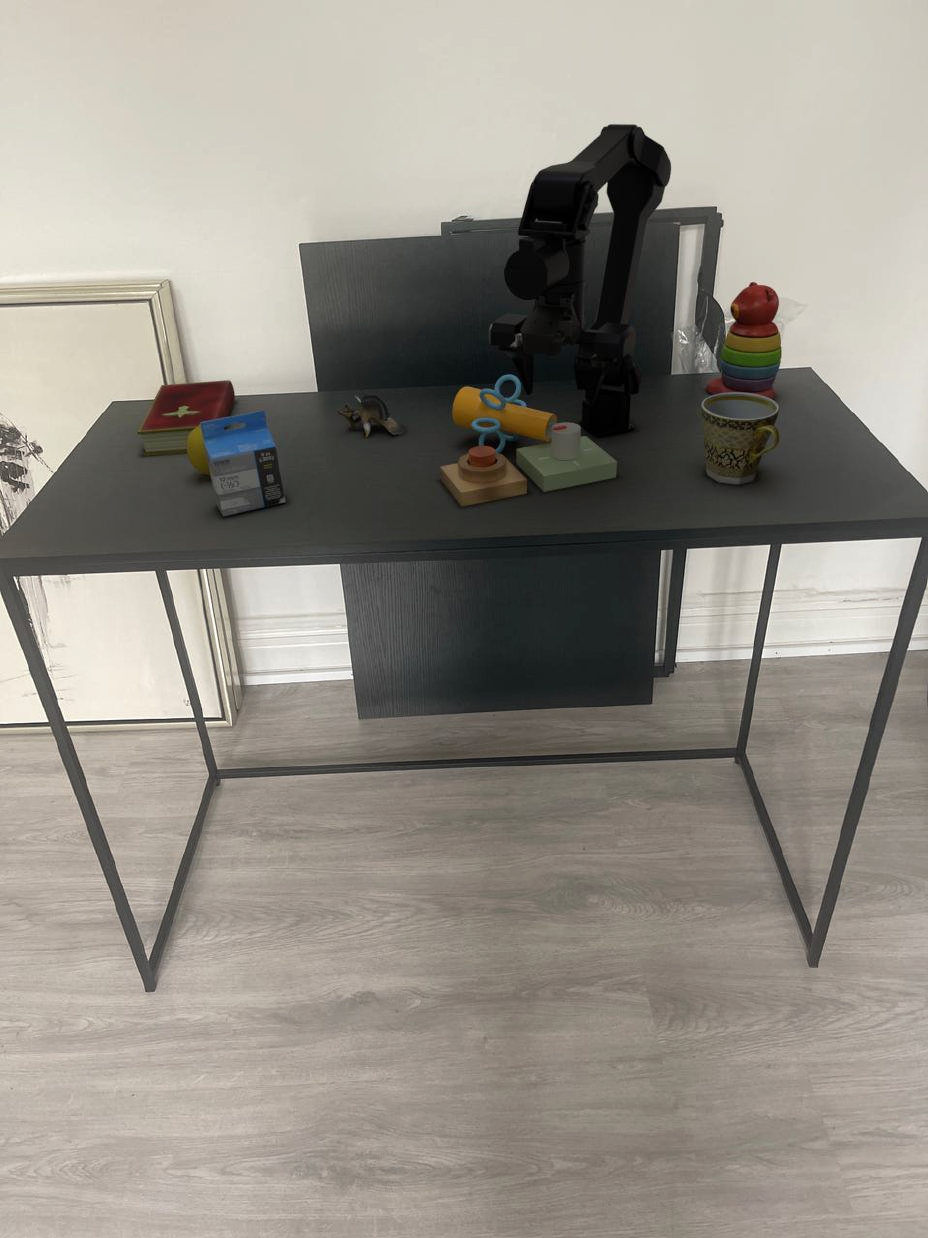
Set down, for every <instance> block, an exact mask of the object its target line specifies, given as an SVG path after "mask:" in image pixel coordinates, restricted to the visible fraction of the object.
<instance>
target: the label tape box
mask: <svg viewBox="0 0 928 1238" xmlns="http://www.w3.org/2000/svg"><path fill="white" fill-rule="evenodd" d="M233 423H236V424H237V425H238V424H244V426H240V427H236V428H235V427H234V428H230V429H225V430H224V427H225V426H226V427H228V426H231V425H232V424H233ZM200 426H201V431H202V435H203V444H204V449H205V453H206V457H207V461H208V465H209V470H210V474H211V476H210V478H211V483H212V488H213V492H214V497H215V501H216V504H217V508H218V510H219V511H220V513H221V515H222V517H228V516H232V515H237V514H240V513H245V512H250V511H253V510H258V509H262V508H268V507H271V506H276V505H279V504H284V503H286V502H287V501H286V495H285V489H284V483H283V479H282V473H281V467H280V461H279V455H278V449H277V446H276V444H275V441H274V439H273V436H272V434H271V432H270V428H269V427H268V424H267V417H266V411H265V410H258V411H253V412H247V413H242V414H237V415H232V416H231V415H230V417H225V418H220V419H215V420H210V421H205V422H200Z"/></svg>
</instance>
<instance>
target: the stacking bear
mask: <svg viewBox="0 0 928 1238" xmlns="http://www.w3.org/2000/svg"><path fill="white" fill-rule="evenodd" d="M779 307H780V299H779V295H778V294H777V291H775V289H774V288H772V287H771V286H769V285H765V284H758V283H757V282H756V281H751V282H749V285H748V286H747V287H745V288H743V289H742V290H741V291H740V292H739V293H738V294H737V296H736V297H735V298H734V299H733V301H732V302H731V304H730V308H729V311H730V314H731V317H732V318H733V319H734V322H732V324H731V325H730V326H729V330H728V331H727V334H726V336H725V339H724V343H723V345H722V348H721V351H720V359H719V360H720V363H719V364H720V371H721V372H720V373H721V377H718V378H717V377H716V378H714V379H711V380H709V382H708V383H707V384H706V391H707V393H708V394H711V395H716V394H721V393H729V392H743V393H752V394H757V395H761V396H765V397H767V398H770V399H772V400H773V399H774V398H775V389H774V383H775V380H776V378H777V374H778V373H779V370H780V366H781V363H782V356H783V355H782V353H783V351H782V350H783V349H782V337H781V336H782V335H781V332H780V330H779V328H778V326H777V324H776V323H775V322H773V321H774V320H775V318H776V316H777V313H778V310H779Z"/></svg>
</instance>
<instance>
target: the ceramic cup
mask: <svg viewBox="0 0 928 1238" xmlns="http://www.w3.org/2000/svg"><path fill="white" fill-rule="evenodd" d="M779 412H780V405H779V404H778V402H777V401H775V400H772V399H770V398H767V397H765V396H761V395H757V394H752V393H743V392H729V393H721V394H716V395H714V394H711V395H710V396H708V397H706V398H705V399H703V400H702V402H701V425H702V434H703V440H704V443H703V444H704V456H705V470H706V475H707V476H708V477H709V478H711V479H713V480H714V481H716V482H717V483H719V484H720V483H722V484H729V485H744V484H747V483H751V482H753V481H754V480H755V479H756V475H757V473H758V469H759V465H760V463H761V460H762V457H763V455H765V454H766V453H767V452H769V451H772V450H774V449H775V448H776V447H777V446H778V445H779V442H780V433H779V430H778V428H777V427H776V426H775V425H776V422H777V419H778V416H779ZM771 435H772V436H773V438H774V439H773V441H774V442H773V444H772V445H770V446H769V447H767V448H766V446H767V443H768V441H769V439H770V437H771Z"/></svg>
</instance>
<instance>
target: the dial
mask: <svg viewBox="0 0 928 1238" xmlns="http://www.w3.org/2000/svg"><path fill="white" fill-rule="evenodd" d="M581 433H582V427H581V426H580V424H577V423H575V422H569V421H567V422H557V424H555V425H554V426H552V440H551V442H552V457H554V458H555V459H559V460H573V459H576V458H578V457H579V456H580V438H581V437H582V436H581Z"/></svg>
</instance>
